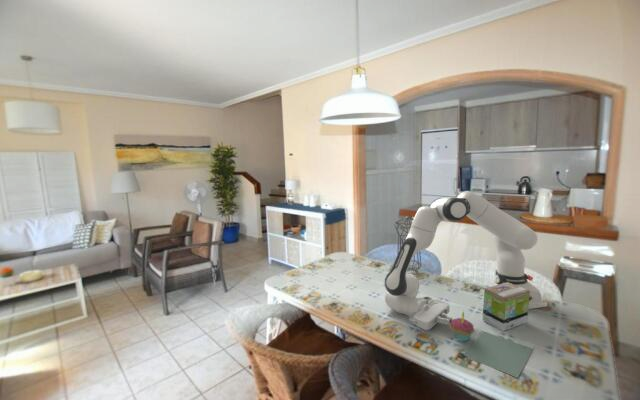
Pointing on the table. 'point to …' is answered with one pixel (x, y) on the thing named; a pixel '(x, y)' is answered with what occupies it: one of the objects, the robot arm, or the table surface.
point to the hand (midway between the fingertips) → (450, 321)
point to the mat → (499, 353)
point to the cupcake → (461, 328)
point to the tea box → (506, 305)
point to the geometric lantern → (404, 239)
